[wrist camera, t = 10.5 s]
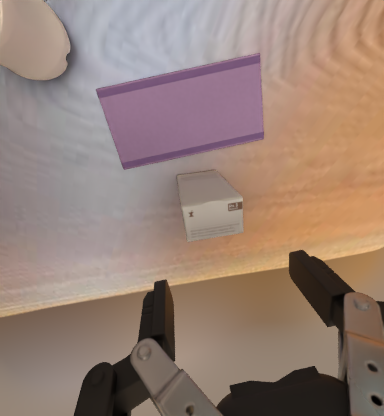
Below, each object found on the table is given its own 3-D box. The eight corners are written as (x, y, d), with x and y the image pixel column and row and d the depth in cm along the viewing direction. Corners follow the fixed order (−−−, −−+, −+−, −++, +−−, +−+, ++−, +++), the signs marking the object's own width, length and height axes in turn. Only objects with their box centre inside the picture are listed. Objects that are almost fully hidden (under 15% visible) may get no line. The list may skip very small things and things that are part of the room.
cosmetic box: (180, 201, 32) (185, 246, 21) (175, 172, 30) (178, 206, 19) (219, 195, 32) (244, 237, 21) (217, 166, 30) (243, 196, 19)
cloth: (124, 169, 29) (123, 170, 29) (96, 89, 25) (95, 89, 25) (263, 138, 29) (264, 139, 29) (258, 53, 25) (260, 52, 25)
